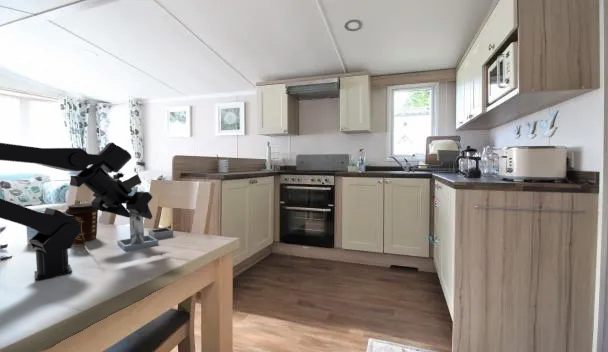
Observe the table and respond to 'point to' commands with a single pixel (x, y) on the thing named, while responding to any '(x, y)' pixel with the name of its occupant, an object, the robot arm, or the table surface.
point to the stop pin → (136, 229)
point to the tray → (136, 246)
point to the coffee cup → (84, 222)
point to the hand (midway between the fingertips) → (140, 217)
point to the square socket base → (162, 233)
